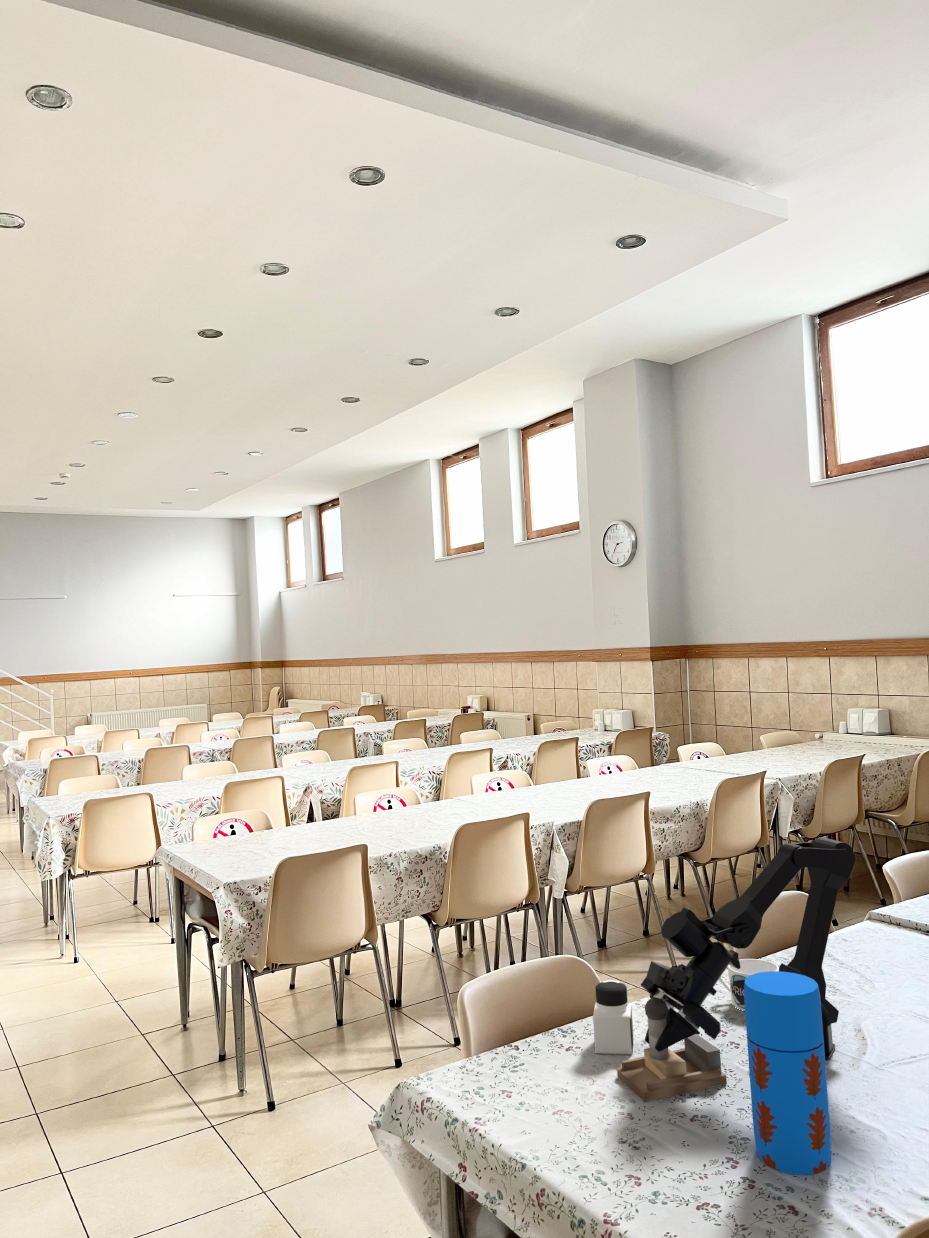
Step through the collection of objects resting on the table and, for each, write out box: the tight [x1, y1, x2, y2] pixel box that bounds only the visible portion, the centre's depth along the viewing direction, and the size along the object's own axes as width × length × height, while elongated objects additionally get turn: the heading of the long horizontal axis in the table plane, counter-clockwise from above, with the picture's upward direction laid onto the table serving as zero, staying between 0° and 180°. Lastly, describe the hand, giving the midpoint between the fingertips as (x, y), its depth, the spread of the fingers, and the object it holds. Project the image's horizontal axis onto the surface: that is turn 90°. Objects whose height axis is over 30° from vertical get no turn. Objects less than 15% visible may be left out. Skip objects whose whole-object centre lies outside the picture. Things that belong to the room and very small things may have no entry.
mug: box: [718, 958, 780, 1012], centre depth 193 cm, size 13×10×8 cm
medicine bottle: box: [592, 979, 634, 1055], centre depth 175 cm, size 7×7×12 cm
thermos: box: [744, 971, 832, 1176], centre depth 134 cm, size 11×11×25 cm
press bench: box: [616, 1034, 728, 1103], centre depth 159 cm, size 16×10×6 cm, turn 107°
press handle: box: [643, 998, 687, 1079], centre depth 159 cm, size 5×8×13 cm, turn 17°
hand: (651, 1045), depth 159 cm, fingers closed on press handle, 3 cm apart
